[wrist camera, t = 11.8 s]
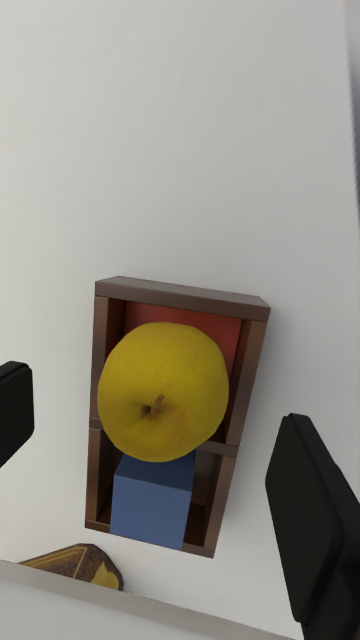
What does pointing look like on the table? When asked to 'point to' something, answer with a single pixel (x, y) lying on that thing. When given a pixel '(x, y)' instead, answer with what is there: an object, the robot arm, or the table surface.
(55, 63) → the table surface
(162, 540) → the blue block
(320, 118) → the table surface
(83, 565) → the book
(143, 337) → the apple
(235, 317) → the tray
